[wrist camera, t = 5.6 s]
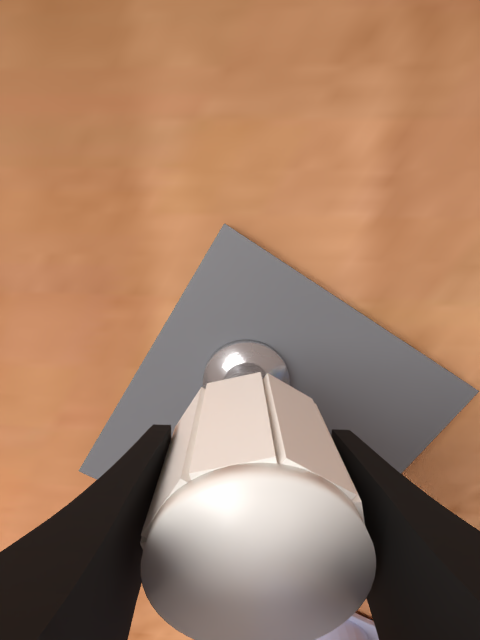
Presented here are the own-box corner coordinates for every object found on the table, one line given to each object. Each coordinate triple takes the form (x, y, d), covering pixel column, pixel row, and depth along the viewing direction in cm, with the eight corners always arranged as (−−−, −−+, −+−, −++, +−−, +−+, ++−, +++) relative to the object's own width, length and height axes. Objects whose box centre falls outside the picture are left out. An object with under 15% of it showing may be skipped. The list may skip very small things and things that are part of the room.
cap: (269, 515, 12) (288, 675, 8) (153, 459, 11) (101, 603, 7) (349, 419, 11) (425, 545, 6) (226, 349, 10) (218, 439, 6)
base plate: (301, 559, 20) (304, 575, 20) (87, 458, 18) (78, 471, 17) (465, 382, 17) (479, 391, 16) (225, 223, 14) (224, 223, 13)
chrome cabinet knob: (257, 428, 16) (264, 488, 12) (188, 390, 16) (172, 441, 12) (304, 366, 15) (327, 410, 12) (232, 323, 15) (230, 355, 11)
